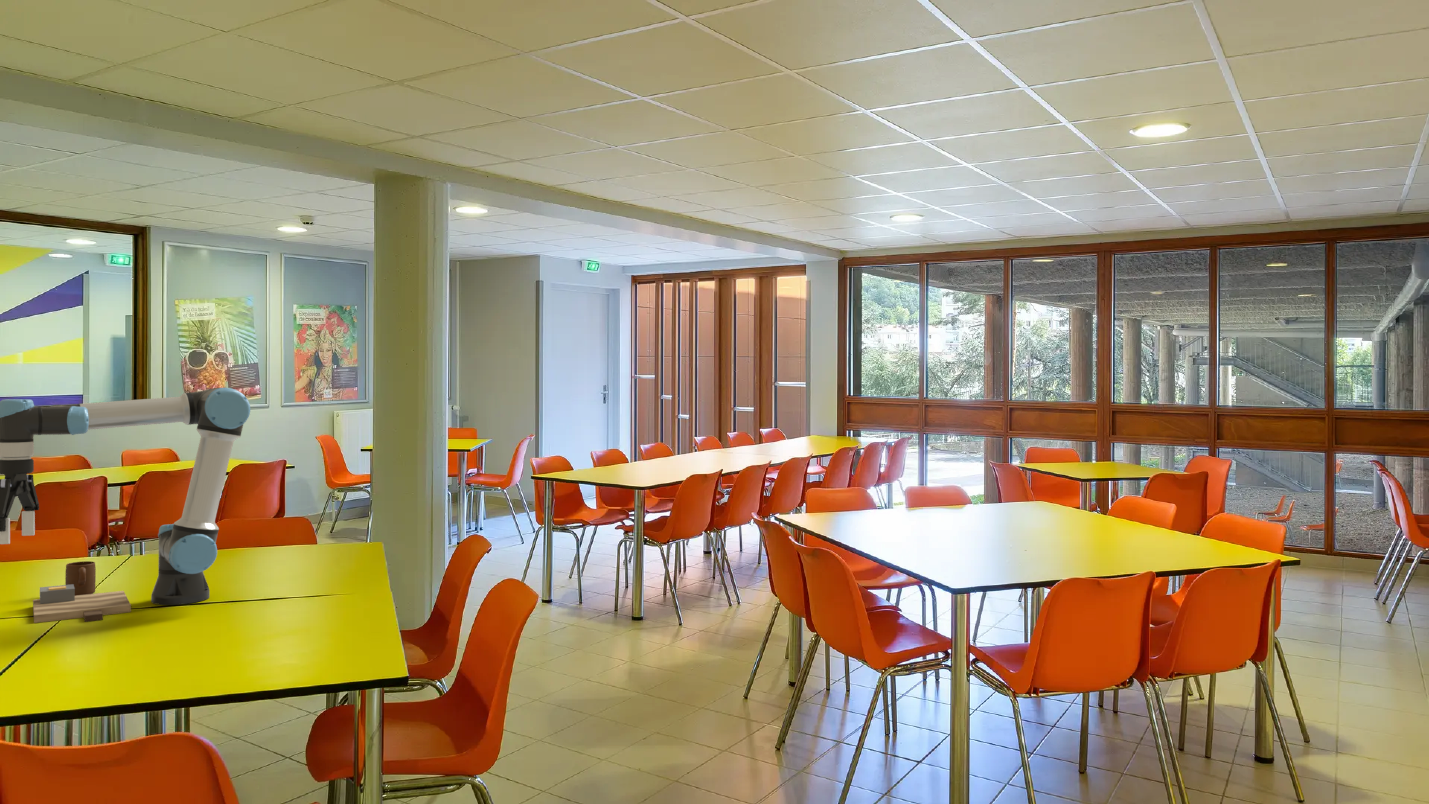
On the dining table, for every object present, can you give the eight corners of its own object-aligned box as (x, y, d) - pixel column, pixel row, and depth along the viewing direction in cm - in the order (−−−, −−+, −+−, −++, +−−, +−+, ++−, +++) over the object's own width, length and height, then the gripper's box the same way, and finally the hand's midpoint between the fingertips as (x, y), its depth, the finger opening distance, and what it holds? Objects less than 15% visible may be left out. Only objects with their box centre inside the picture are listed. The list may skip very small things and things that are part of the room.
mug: (97, 597, 278) (98, 566, 277) (67, 600, 273) (67, 569, 273) (94, 590, 287) (94, 560, 287) (64, 593, 282) (64, 562, 282)
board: (33, 606, 265) (33, 599, 265) (123, 597, 278) (123, 590, 278) (34, 627, 242) (34, 620, 242) (132, 616, 256) (132, 609, 256)
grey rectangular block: (39, 599, 265) (39, 586, 265) (73, 596, 270) (73, 582, 270) (40, 604, 260) (40, 590, 260) (74, 600, 265) (74, 587, 265)
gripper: (21, 454, 251) (22, 532, 251) (-27, 462, 227) (-26, 548, 227) (53, 454, 253) (53, 531, 253) (8, 462, 228) (9, 547, 229)
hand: (16, 539), depth 240 cm, fingers open, 13 cm apart
